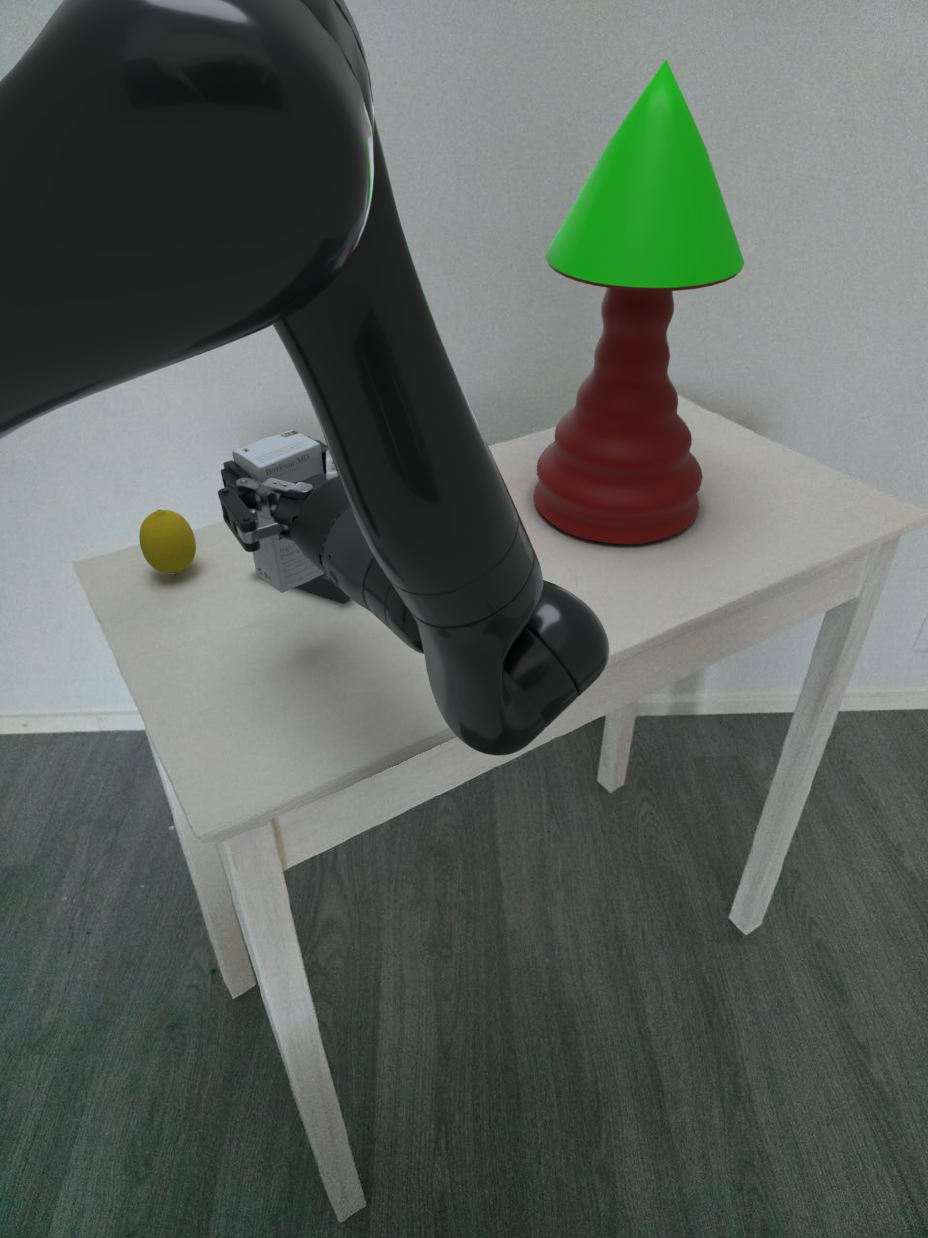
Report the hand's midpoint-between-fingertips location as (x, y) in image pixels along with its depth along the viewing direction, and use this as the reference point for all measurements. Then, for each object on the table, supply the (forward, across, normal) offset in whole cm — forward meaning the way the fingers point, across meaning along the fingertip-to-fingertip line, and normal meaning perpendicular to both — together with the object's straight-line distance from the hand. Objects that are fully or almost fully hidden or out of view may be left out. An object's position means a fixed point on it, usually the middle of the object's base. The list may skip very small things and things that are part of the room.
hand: (267, 459), depth 70 cm
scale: (+10, -10, +20) cm, 24 cm away
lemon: (+18, +5, +20) cm, 27 cm away
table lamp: (0, -43, +20) cm, 47 cm away
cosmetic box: (-2, 0, +10) cm, 10 cm away
